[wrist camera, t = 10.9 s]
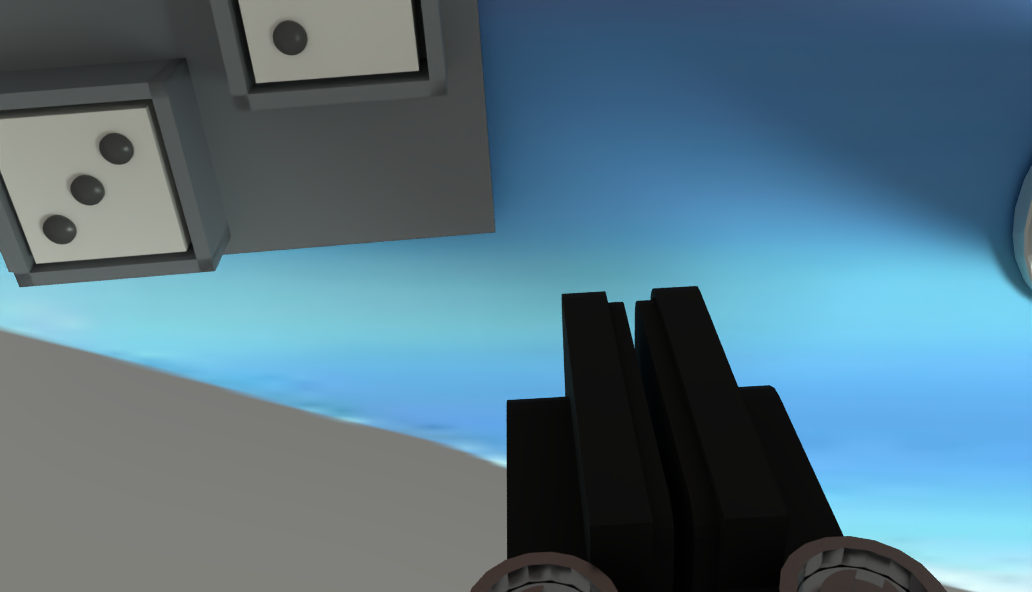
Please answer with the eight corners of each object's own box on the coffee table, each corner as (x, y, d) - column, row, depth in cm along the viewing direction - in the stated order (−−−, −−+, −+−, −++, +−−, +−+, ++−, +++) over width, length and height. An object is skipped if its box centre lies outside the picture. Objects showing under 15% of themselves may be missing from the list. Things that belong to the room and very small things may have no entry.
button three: (163, 88, 29) (143, 109, 27) (200, 225, 31) (184, 253, 29) (9, 100, 29) (-22, 122, 27) (59, 236, 31) (34, 265, 29)
